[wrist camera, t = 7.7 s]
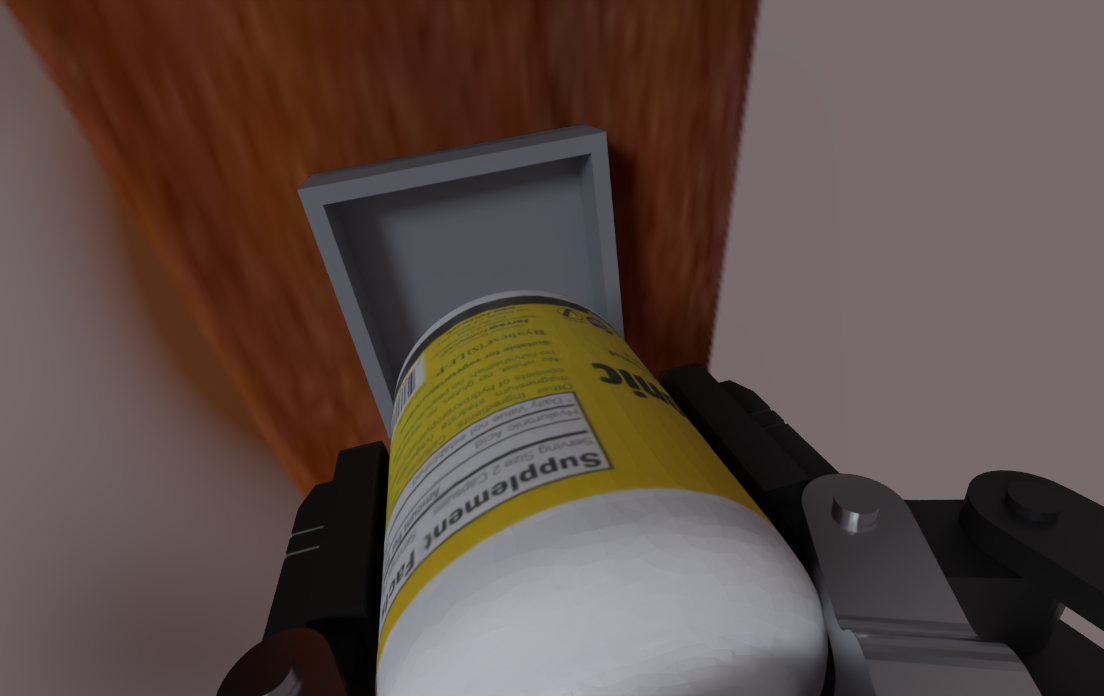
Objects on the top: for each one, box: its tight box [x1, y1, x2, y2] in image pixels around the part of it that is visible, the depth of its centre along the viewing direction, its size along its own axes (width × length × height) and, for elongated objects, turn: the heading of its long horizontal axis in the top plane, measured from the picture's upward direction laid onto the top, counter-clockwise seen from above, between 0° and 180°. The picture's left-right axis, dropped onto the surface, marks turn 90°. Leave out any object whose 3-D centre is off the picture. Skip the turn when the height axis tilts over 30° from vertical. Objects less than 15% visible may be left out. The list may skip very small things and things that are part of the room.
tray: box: [297, 124, 625, 440], centre depth 18 cm, size 9×9×2 cm
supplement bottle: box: [375, 290, 828, 696], centre depth 8 cm, size 5×5×10 cm
